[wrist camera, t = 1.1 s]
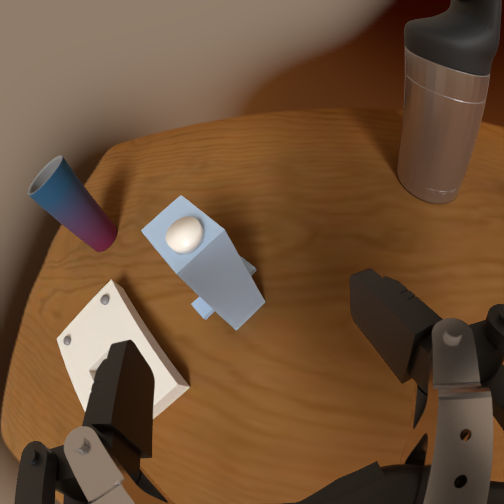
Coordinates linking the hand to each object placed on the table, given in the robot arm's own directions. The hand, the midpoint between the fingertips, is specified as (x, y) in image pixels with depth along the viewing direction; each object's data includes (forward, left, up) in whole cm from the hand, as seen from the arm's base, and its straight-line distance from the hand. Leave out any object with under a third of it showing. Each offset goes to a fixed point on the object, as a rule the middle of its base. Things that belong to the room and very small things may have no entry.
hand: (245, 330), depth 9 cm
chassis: (+2, -20, -16) cm, 25 cm away
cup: (-16, -30, -16) cm, 38 cm away
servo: (-7, -7, -16) cm, 19 cm away
